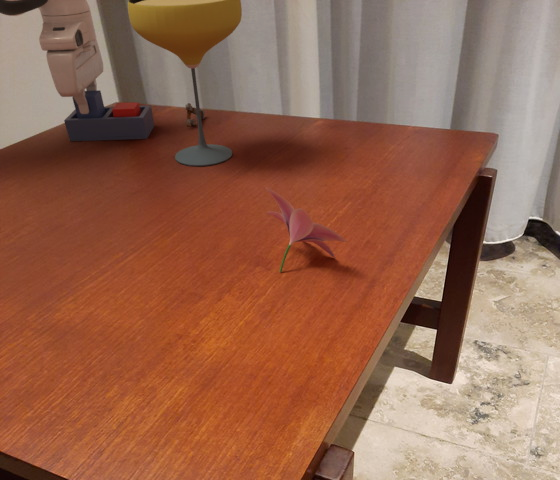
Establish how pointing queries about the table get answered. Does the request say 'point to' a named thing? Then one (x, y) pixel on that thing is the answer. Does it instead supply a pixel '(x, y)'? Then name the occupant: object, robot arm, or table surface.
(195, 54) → the cocktail glass
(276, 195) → the lily
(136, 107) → the red block
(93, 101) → the blue block
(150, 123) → the tray
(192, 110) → the brown lumpy upright piece
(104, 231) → the table surface
